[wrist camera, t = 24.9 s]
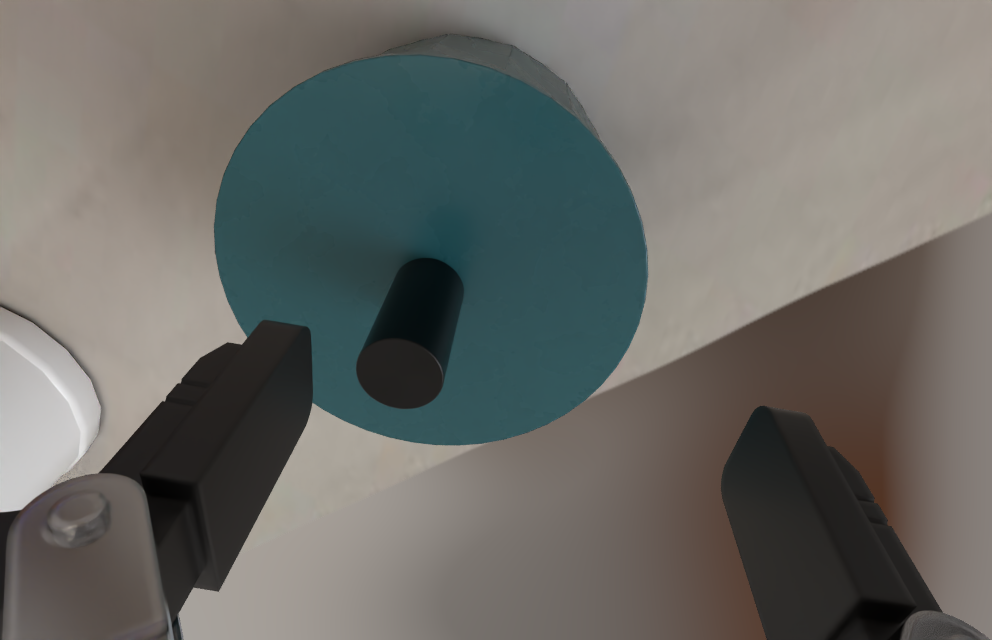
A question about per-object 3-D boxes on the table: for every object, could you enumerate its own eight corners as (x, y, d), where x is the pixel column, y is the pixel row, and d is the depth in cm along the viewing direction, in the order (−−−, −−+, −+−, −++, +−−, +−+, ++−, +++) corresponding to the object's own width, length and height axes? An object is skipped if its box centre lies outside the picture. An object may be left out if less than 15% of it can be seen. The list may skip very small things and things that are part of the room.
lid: (706, 98, 17) (777, 157, 12) (585, 452, 24) (596, 577, 20) (206, 5, 16) (58, 26, 11) (245, 395, 24) (167, 509, 19)
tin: (639, 67, 24) (686, 119, 16) (567, 328, 32) (576, 453, 24) (323, 8, 24) (214, 32, 16) (324, 286, 31) (249, 398, 23)
